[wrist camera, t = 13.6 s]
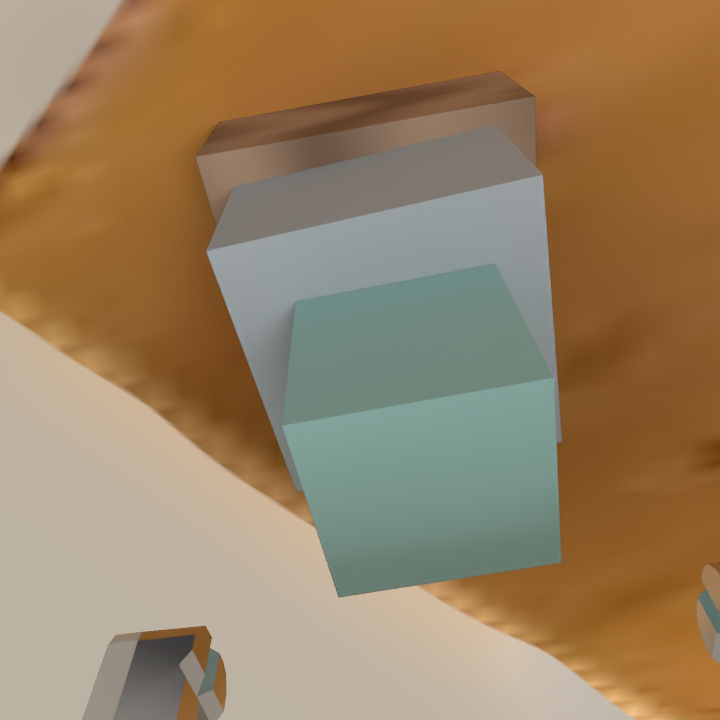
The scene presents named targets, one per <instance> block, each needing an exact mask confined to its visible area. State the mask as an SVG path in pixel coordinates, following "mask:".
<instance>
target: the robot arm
mask: <svg viewBox="0 0 720 720" xmlns="http://www.w3.org/2000/svg"><path fill="white" fill-rule="evenodd" d="M701 580H702V582H703V584H704V586H705V587H706V590H705V591H704V592H703V593H702V594H701V595H700V596H698V599H697V607H696V614H697V620H698V625H699V630H700V632H701V635H702V638H703V641H704V643H705V645H706V647H707V649H708V651H709V653H710V655H711V657H712V658H713V659H714V660H716V661H717V662H719V663H720V562H717V563H709V564H707V565H706V566H705V567H704V568H703V571H702V576H701ZM211 639H212V637H211V635H210V633H209V631H208V630H207V628H206V626H197V627H188V628H178V629H168V630H158V631H148V632H137V633H130V634H121V635H115V637H114V638H113V639H112V641H111V642H110V643H109V645H108V647H107V650H106V653H105V656H104V659H103V661H102V664H101V667H100V670H99V673H98V676H97V679H96V681H95V684H94V687H93V690H92V693H91V696H90V699H89V702H88V705H87V707H86V710H85V714H84V716H83V719H82V720H217V719H218V718H219V717H220V716H221V714H222V713H223V711H224V706H225V699H226V672H225V668H224V663H223V660H222V658H221V656H220V654H219V653H218V652H216V651H214V650H212V649H211V648H210V644H211Z"/></svg>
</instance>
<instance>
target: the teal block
mask: <svg viewBox="0 0 720 720" xmlns="http://www.w3.org/2000/svg"><path fill="white" fill-rule="evenodd" d="M282 427H283V430H284V433H285V436H286V439H287V442H288V445H289V448H290V451H291V454H292V457H293V461H294V464H295V467H296V470H297V473H298V476H299V479H300V482H301V485H302V488H303V491H304V494H305V497H306V500H307V503H308V506H309V509H310V512H311V515H312V518H313V521H314V524H315V527H316V530H317V533H318V536H319V539H320V542H321V545H322V548H323V552H324V555H325V558H326V561H327V564H328V567H329V570H330V572H331V576H332V579H333V582H334V585H335V588H336V591H337V594H338V597H345V596H351V595H358V594H364V593H370V592H376V591H383V590H389V589H396V588H402V587H409V586H415V585H422V584H428V583H435V582H441V581H447V580H454V579H460V578H467V577H473V576H479V575H486V574H492V573H499V572H505V571H511V570H518V569H524V568H531V567H537V566H544V565H550V564H556V563H561V540H560V516H559V492H558V468H557V444H556V420H555V396H554V377H553V375H552V373H551V371H550V369H549V367H548V365H547V364H546V362H545V360H544V358H543V356H542V354H541V352H540V350H539V348H538V346H537V344H536V342H535V340H534V338H533V336H532V334H531V332H530V330H529V329H528V327H527V325H526V323H525V321H524V319H523V317H522V315H521V313H520V311H519V309H518V307H517V305H516V303H515V301H514V299H513V297H512V295H511V294H510V292H509V290H508V288H507V286H506V284H505V282H504V280H503V278H502V276H501V274H500V272H499V270H498V268H497V266H496V264H491V265H486V266H481V267H475V268H470V269H465V270H460V271H455V272H449V273H444V274H439V275H434V276H428V277H423V278H418V279H413V280H407V281H402V282H397V283H392V284H387V285H381V286H376V287H371V288H366V289H360V290H355V291H350V292H345V293H339V294H334V295H329V296H324V297H319V298H313V299H308V300H303V301H298V302H296V303H295V312H294V321H293V330H292V339H291V348H290V358H289V367H288V376H287V385H286V394H285V403H284V413H283V422H282Z"/></svg>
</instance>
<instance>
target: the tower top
mask: <svg viewBox="0 0 720 720" xmlns="http://www.w3.org/2000/svg"><path fill="white" fill-rule="evenodd" d="M206 252H207V255H208V257H209V260H210V263H211V265H212V268H213V271H214V273H215V276H216V279H217V281H218V284H219V287H220V289H221V292H222V295H223V297H224V300H225V303H226V305H227V308H228V311H229V313H230V316H231V319H232V321H233V324H234V327H235V329H236V332H237V335H238V337H239V340H240V343H241V345H242V348H243V351H244V353H245V356H246V358H247V361H248V364H249V366H250V369H251V372H252V374H253V377H254V380H255V382H256V385H257V388H258V390H259V393H260V396H261V398H262V401H263V404H264V406H265V409H266V412H267V414H268V417H269V420H270V422H271V425H272V428H273V430H274V433H275V436H276V438H277V441H278V444H279V446H280V449H281V452H282V454H283V457H284V460H285V462H286V465H287V468H288V470H289V473H290V476H291V478H292V481H293V484H294V486H295V489H296V492H300V491H303V488H302V485H301V482H300V479H299V476H298V473H297V470H296V467H295V464H294V461H293V457H292V454H291V451H290V448H289V445H288V442H287V439H286V436H285V433H284V430H283V427H282V422H283V413H284V403H285V394H286V385H287V376H288V367H289V358H290V348H291V339H292V330H293V321H294V312H295V303H296V302H298V301H303V300H308V299H313V298H319V297H324V296H329V295H334V294H339V293H345V292H350V291H355V290H360V289H366V288H371V287H376V286H381V285H387V284H392V283H397V282H402V281H407V280H413V279H418V278H423V277H428V276H434V275H439V274H444V273H449V272H455V271H460V270H465V269H470V268H475V267H481V266H486V265H491V264H496V266H497V268H498V270H499V272H500V274H501V276H502V278H503V280H504V282H505V284H506V286H507V288H508V290H509V292H510V294H511V295H512V297H513V299H514V301H515V303H516V305H517V307H518V309H519V311H520V313H521V315H522V317H523V319H524V321H525V323H526V325H527V327H528V329H529V330H530V332H531V334H532V336H533V338H534V340H535V342H536V344H537V346H538V348H539V350H540V352H541V354H542V356H543V358H544V360H545V362H546V364H547V365H548V367H549V369H550V371H551V373H552V375H553V377H554V396H555V420H556V443H558V442H562V433H561V419H560V405H559V391H558V378H557V364H556V350H555V336H554V322H553V309H552V295H551V281H550V267H549V254H548V240H547V226H546V212H545V198H544V185H543V174H542V173H541V172H540V171H539V170H538V169H537V168H536V167H535V166H534V165H533V164H532V163H531V162H530V160H529V159H528V158H527V157H526V156H525V155H524V154H523V153H522V152H521V151H520V150H519V149H518V148H517V147H516V146H515V144H514V143H513V142H512V141H511V140H510V139H509V138H508V137H507V136H506V135H505V134H504V133H503V132H502V131H501V129H500V128H499V127H498V126H497V125H494V126H490V127H486V128H482V129H477V130H473V131H469V132H465V133H460V134H456V135H452V136H448V137H443V138H439V139H435V140H431V141H426V142H422V143H418V144H414V145H409V146H405V147H401V148H397V149H392V150H388V151H384V152H380V153H375V154H371V155H367V156H363V157H359V158H354V159H350V160H346V161H342V162H337V163H333V164H329V165H325V166H320V167H316V168H312V169H308V170H303V171H299V172H295V173H291V174H286V175H282V176H278V177H274V178H269V179H265V180H261V181H257V182H252V183H248V184H244V185H240V186H235V187H234V188H233V190H232V192H231V195H230V197H229V199H228V201H227V204H226V206H225V208H224V211H223V213H222V215H221V218H220V220H219V222H218V225H217V227H216V229H215V232H214V234H213V236H212V239H211V241H210V243H209V246H208V248H207V250H206Z"/></svg>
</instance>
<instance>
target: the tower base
mask: <svg viewBox="0 0 720 720" xmlns="http://www.w3.org/2000/svg"><path fill="white" fill-rule="evenodd" d="M494 125H497V126H498V127H499V128H500V129H501V131H502V132H503V133H504V134H505V135H506V136H507V137H508V138H509V139H510V140H511V141H512V142H513V143H514V144H515V146H516V147H517V148H518V149H519V150H520V151H521V152H522V153H523V154H524V155H525V156H526V157H527V158H528V159H529V160H530V162H531V163H532V164H533V165H534V166H535V167H536V123H535V96H534V95H532V94H531V93H530V92H528V91H527V90H525V89H524V88H523V87H521V86H520V85H518V84H517V83H516V82H514V81H513V80H511V79H510V78H509V77H507V76H506V75H504V74H503V73H502V72H500V71H498V72H492V73H487V74H481V75H476V76H470V77H465V78H459V79H454V80H448V81H443V82H437V83H432V84H426V85H421V86H415V87H410V88H404V89H399V90H393V91H388V92H382V93H376V94H371V95H365V96H360V97H354V98H349V99H343V100H338V101H332V102H327V103H321V104H316V105H310V106H305V107H299V108H294V109H288V110H283V111H277V112H272V113H266V114H261V115H255V116H250V117H244V118H239V119H233V120H228V121H222V122H219V123H218V125H217V126H216V128H215V129H214V131H213V132H212V134H211V135H210V137H209V138H208V140H207V141H206V142H205V144H204V145H203V147H202V148H201V150H200V151H199V153H198V154H197V156H196V160H197V164H198V167H199V170H200V174H201V177H202V180H203V184H204V187H205V190H206V194H207V197H208V201H209V204H210V207H211V211H212V214H213V217H214V221H215V224H216V227H217V225H218V222H219V220H220V218H221V215H222V213H223V211H224V208H225V206H226V204H227V201H228V199H229V197H230V195H231V192H232V190H233V188H234V187H235V186H240V185H244V184H248V183H252V182H257V181H261V180H265V179H269V178H274V177H278V176H282V175H286V174H291V173H295V172H299V171H303V170H308V169H312V168H316V167H320V166H325V165H329V164H333V163H337V162H342V161H346V160H350V159H354V158H359V157H363V156H367V155H371V154H375V153H380V152H384V151H388V150H392V149H397V148H401V147H405V146H409V145H414V144H418V143H422V142H426V141H431V140H435V139H439V138H443V137H448V136H452V135H456V134H460V133H465V132H469V131H473V130H477V129H482V128H486V127H490V126H494Z"/></svg>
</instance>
